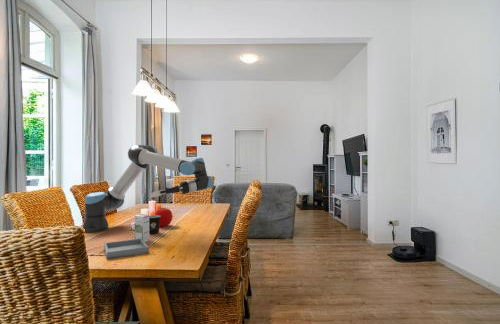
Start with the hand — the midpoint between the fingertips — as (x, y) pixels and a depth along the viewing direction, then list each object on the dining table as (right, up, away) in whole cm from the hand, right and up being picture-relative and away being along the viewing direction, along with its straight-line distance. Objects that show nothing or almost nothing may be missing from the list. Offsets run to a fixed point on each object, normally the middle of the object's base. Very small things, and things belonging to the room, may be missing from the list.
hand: (151, 194), depth 172 cm
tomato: (-2, -25, +31) cm, 40 cm away
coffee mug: (-5, -25, +12) cm, 28 cm away
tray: (-5, -25, -24) cm, 35 cm away
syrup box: (-3, -25, -6) cm, 26 cm away
